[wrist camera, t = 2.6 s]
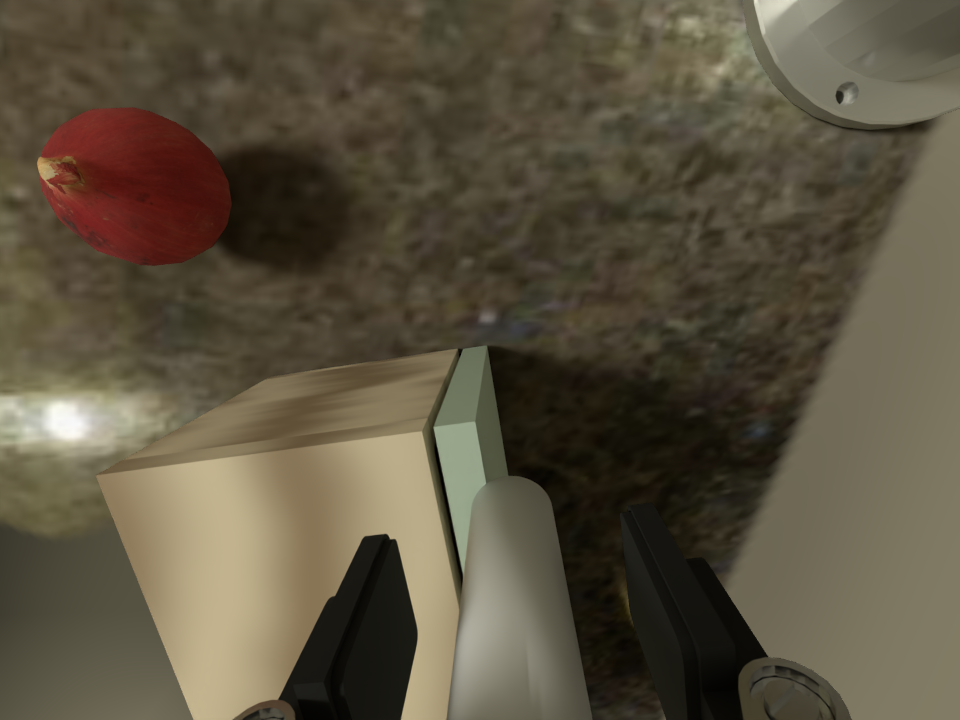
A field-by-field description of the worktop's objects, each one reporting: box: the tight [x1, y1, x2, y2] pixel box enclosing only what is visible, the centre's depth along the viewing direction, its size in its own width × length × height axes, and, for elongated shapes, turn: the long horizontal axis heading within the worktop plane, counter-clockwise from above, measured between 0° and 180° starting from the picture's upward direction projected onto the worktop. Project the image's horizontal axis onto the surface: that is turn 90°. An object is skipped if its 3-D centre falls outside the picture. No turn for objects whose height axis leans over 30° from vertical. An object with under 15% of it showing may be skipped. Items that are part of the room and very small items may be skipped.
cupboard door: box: [434, 346, 592, 720], centre depth 16 cm, size 3×18×18 cm, turn 9°
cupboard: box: [96, 349, 463, 720], centre depth 20 cm, size 10×18×10 cm, turn 9°
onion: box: [37, 108, 232, 266], centre depth 18 cm, size 6×6×8 cm
